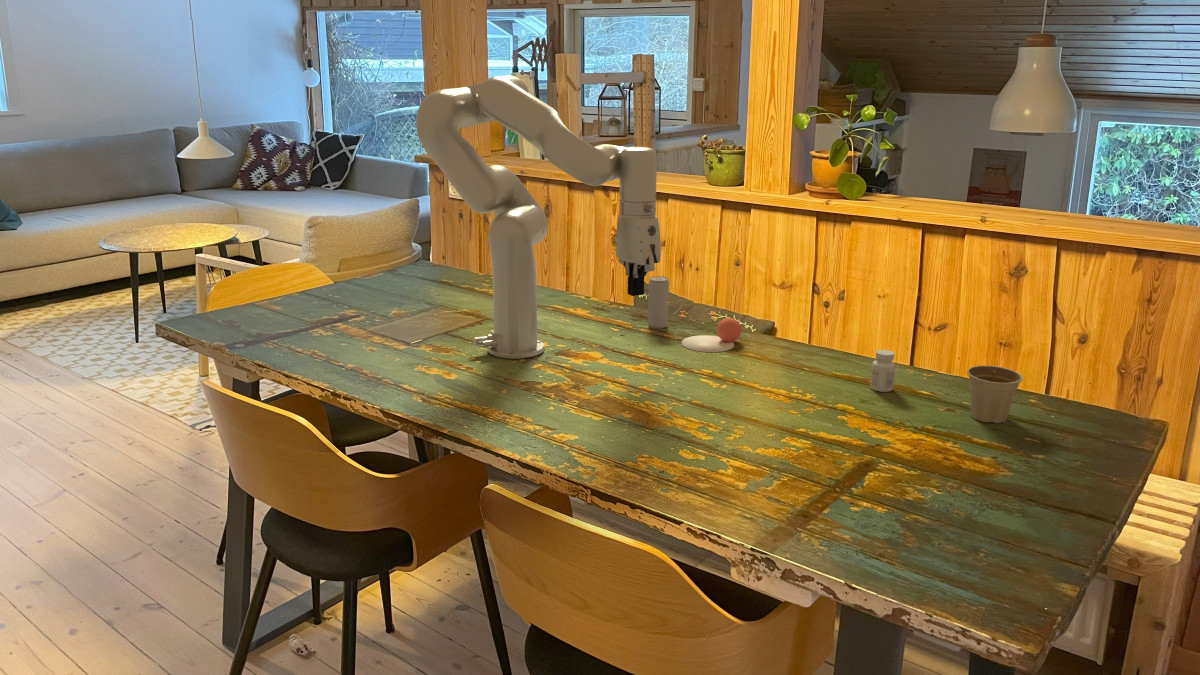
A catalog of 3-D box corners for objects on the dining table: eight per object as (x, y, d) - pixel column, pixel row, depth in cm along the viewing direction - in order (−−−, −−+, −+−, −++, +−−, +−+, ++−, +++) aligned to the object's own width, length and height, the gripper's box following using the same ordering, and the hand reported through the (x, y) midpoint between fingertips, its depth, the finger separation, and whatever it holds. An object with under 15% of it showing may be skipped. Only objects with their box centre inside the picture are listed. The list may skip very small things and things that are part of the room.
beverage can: (668, 329, 224) (669, 281, 220) (648, 329, 224) (649, 280, 220) (667, 323, 228) (668, 276, 225) (647, 323, 228) (648, 276, 225)
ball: (749, 333, 215) (733, 350, 213) (731, 325, 218) (716, 341, 217) (742, 318, 211) (726, 335, 209) (724, 309, 215) (708, 326, 213)
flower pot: (1011, 431, 166) (1018, 386, 163) (956, 420, 170) (962, 376, 168) (1019, 414, 173) (1026, 371, 171) (967, 404, 178) (972, 362, 175)
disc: (698, 354, 205) (698, 354, 205) (672, 339, 216) (672, 339, 216) (744, 348, 210) (744, 347, 210) (716, 333, 220) (716, 332, 220)
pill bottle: (893, 386, 187) (897, 350, 185) (892, 393, 183) (896, 356, 181) (870, 383, 189) (874, 347, 186) (869, 391, 185) (872, 354, 182)
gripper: (675, 211, 187) (672, 299, 193) (629, 201, 198) (627, 284, 204) (646, 215, 183) (644, 305, 188) (601, 205, 194) (600, 289, 200)
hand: (635, 294), depth 196 cm, fingers closed
